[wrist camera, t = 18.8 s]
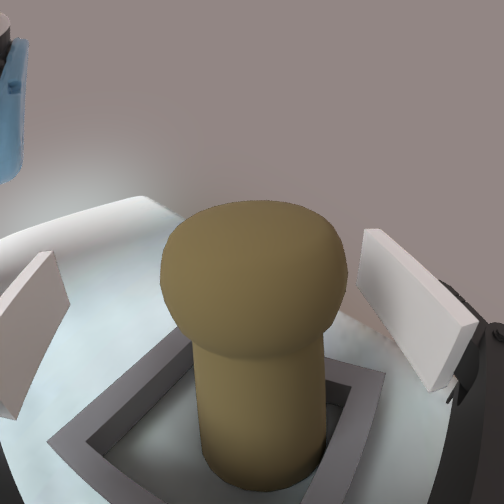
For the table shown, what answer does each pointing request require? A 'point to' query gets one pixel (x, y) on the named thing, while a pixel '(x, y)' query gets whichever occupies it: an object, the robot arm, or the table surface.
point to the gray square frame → (163, 378)
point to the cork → (257, 334)
